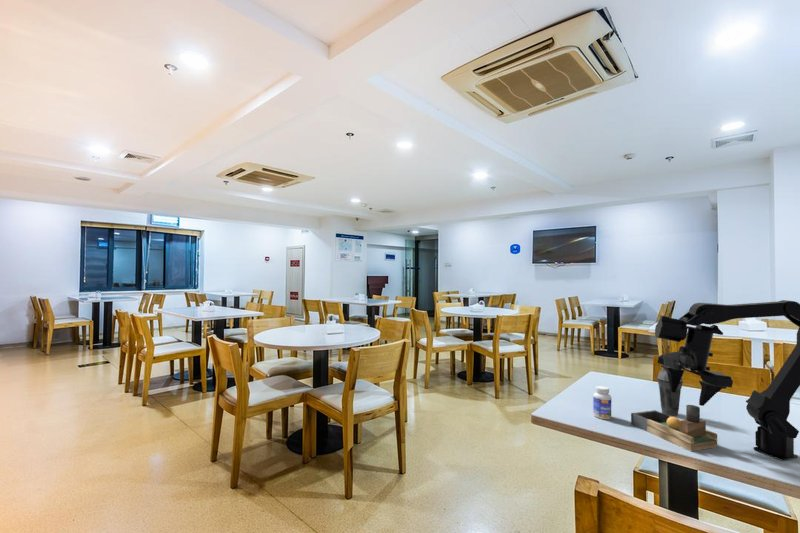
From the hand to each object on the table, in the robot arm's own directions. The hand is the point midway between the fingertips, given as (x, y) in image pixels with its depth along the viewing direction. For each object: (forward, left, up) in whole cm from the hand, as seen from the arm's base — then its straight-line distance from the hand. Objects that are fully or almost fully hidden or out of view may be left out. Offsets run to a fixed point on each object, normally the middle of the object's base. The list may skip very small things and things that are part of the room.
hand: (686, 398), depth 107 cm
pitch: (+1, 0, -12) cm, 12 cm away
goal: (+11, 0, -12) cm, 16 cm away
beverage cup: (+17, -16, -12) cm, 26 cm away
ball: (+3, 0, -10) cm, 11 cm away
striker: (-2, 0, -10) cm, 10 cm away
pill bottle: (+21, +9, -12) cm, 26 cm away
